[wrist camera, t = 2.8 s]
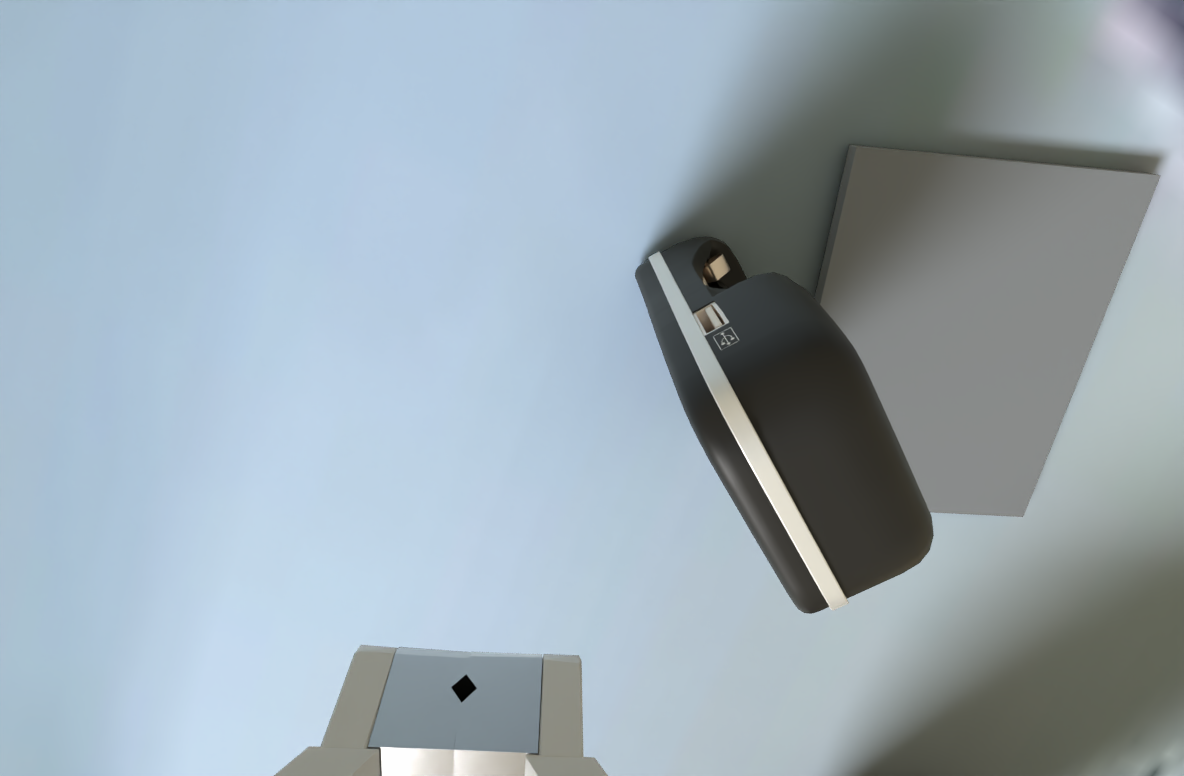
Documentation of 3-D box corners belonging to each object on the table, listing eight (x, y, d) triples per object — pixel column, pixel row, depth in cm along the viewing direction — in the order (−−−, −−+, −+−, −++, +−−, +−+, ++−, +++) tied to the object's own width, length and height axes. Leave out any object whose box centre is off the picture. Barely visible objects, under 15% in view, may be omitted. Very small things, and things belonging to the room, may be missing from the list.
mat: (769, 495, 28) (773, 504, 28) (849, 144, 23) (856, 146, 22) (1014, 508, 29) (1023, 516, 29) (1146, 172, 24) (1160, 175, 23)
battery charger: (812, 372, 26) (983, 584, 16) (717, 421, 27) (821, 656, 17) (730, 201, 24) (870, 322, 13) (626, 260, 24) (683, 420, 14)
